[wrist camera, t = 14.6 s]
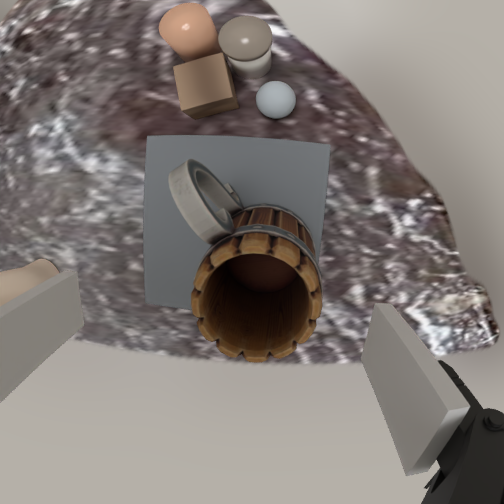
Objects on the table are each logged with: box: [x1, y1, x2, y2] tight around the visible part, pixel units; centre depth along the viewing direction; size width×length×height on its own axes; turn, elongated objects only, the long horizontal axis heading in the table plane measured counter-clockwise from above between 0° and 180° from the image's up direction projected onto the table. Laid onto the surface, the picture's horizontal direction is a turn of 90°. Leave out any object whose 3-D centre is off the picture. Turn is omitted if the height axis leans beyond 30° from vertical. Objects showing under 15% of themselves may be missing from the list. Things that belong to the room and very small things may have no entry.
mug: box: [168, 159, 323, 362], centre depth 25 cm, size 16×11×15 cm
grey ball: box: [256, 81, 296, 118], centre depth 27 cm, size 4×4×4 cm
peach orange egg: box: [159, 3, 222, 63], centre depth 25 cm, size 5×5×7 cm
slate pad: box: [143, 135, 330, 310], centre depth 33 cm, size 20×20×1 cm
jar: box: [218, 16, 272, 80], centre depth 25 cm, size 5×5×7 cm
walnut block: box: [173, 53, 239, 119], centre depth 27 cm, size 5×5×5 cm
